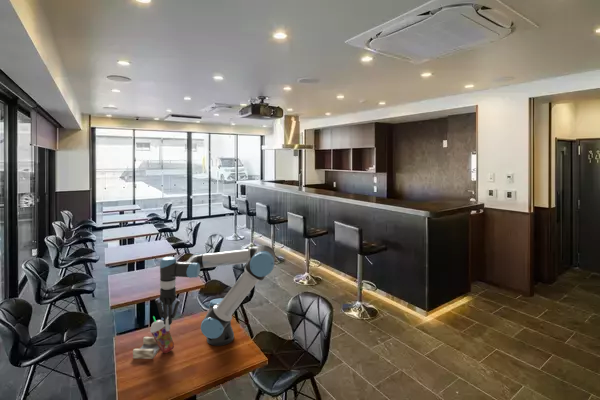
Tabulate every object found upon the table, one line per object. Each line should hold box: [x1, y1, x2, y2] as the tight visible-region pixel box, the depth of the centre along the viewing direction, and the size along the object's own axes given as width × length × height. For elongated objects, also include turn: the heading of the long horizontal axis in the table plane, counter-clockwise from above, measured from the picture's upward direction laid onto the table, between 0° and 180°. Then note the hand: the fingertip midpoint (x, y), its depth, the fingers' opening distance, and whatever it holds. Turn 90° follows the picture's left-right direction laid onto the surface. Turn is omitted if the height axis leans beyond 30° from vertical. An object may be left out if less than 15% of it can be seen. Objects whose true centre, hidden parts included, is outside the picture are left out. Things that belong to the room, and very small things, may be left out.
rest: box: [132, 336, 160, 360], centre depth 178 cm, size 10×13×4 cm
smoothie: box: [149, 315, 175, 354], centre depth 177 cm, size 8×8×20 cm
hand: (167, 329), depth 176 cm, fingers closed
